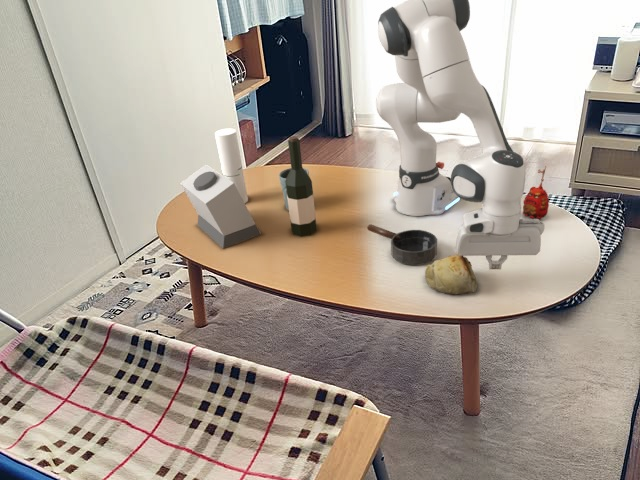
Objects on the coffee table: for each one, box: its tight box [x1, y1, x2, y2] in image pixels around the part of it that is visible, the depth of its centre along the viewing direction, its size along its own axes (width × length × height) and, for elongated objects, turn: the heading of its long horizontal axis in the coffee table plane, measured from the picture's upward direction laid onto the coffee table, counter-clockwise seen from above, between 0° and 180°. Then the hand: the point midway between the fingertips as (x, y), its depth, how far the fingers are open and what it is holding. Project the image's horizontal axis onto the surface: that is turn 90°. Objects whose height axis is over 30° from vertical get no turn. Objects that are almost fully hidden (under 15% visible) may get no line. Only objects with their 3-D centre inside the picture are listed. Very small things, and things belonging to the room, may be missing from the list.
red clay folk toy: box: [522, 165, 550, 221], centre depth 170 cm, size 8×7×15 cm
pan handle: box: [366, 223, 400, 241], centre depth 167 cm, size 12×2×2 cm, turn 44°
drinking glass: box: [278, 167, 310, 211], centre depth 191 cm, size 10×10×12 cm
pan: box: [390, 229, 438, 266], centre depth 160 cm, size 13×13×4 cm
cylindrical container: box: [214, 127, 249, 204], centre depth 194 cm, size 7×7×25 cm
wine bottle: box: [285, 135, 318, 238], centre depth 171 cm, size 8×8×30 cm
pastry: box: [424, 253, 478, 296], centre depth 146 cm, size 14×12×8 cm
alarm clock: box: [179, 163, 262, 249], centre depth 178 cm, size 20×16×20 cm
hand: (494, 268), depth 144 cm, fingers closed
